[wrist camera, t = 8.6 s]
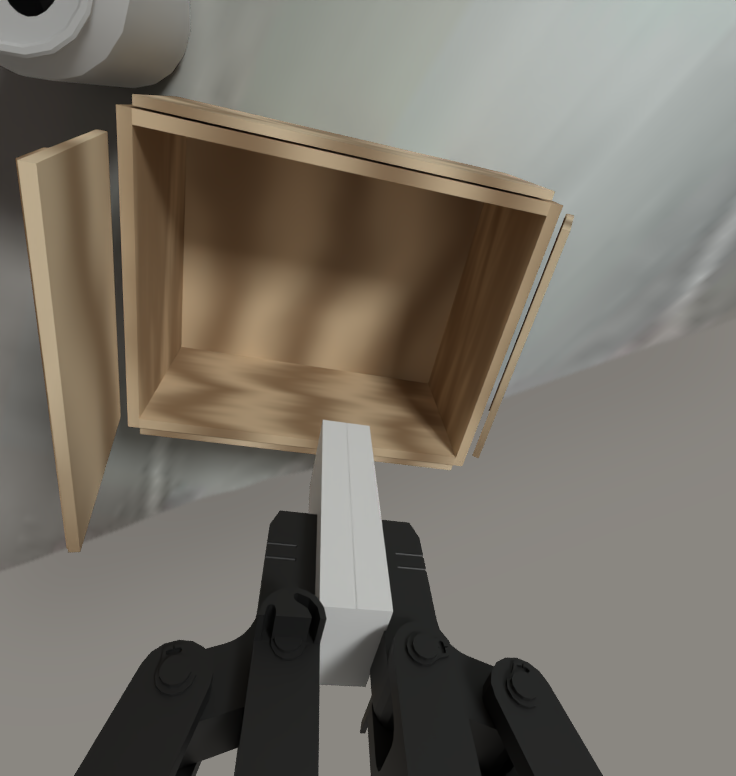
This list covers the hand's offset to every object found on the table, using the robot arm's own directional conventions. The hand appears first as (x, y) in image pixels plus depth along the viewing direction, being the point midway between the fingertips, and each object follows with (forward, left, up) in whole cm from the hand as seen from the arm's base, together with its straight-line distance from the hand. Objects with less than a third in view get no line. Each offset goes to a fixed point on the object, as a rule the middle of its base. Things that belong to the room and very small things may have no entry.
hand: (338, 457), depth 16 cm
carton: (0, 0, -21) cm, 21 cm away
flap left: (-10, 0, -6) cm, 11 cm away
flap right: (+13, 0, -15) cm, 19 cm away
